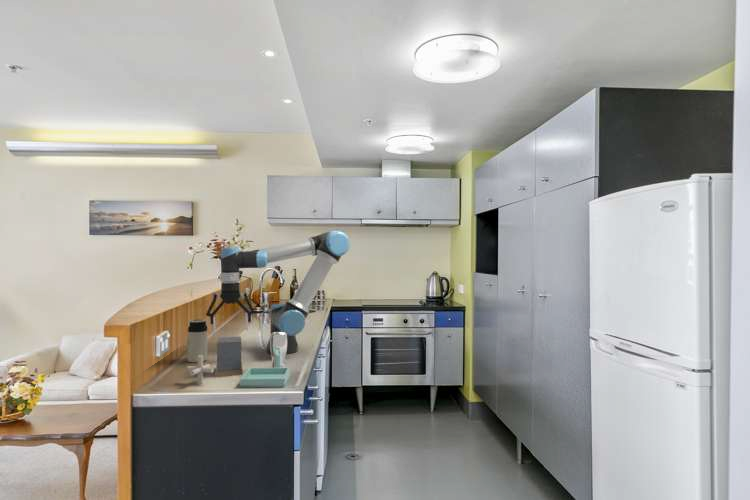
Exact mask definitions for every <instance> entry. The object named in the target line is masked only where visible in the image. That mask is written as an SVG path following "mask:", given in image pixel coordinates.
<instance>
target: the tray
mask: <svg viewBox="0 0 750 500" xmlns="http://www.w3.org/2000/svg"><path fill="white" fill-rule="evenodd" d="M290 376H291V367H286V368H271V367H249V368H248V369H247V370H246V372H245V373H244V374H243V375H241V377H240V379H239V389H240V388H241V389H249V388H250V389H251V388H253V387H255V388H256V387H263V388H285V387H286V385H287V382H288V380H289V378H290Z"/></svg>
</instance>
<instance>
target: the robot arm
mask: <svg viewBox="0 0 750 500" xmlns="http://www.w3.org/2000/svg"><path fill="white" fill-rule="evenodd" d="M349 249H350V239H349V237H348V236H347V234H346V233H344V232H342V231H339V230H333V231H327V232H326V231H325V232H323V233H320V234H317V235H315V236H310V237H308V239H305V240H300V241H299V240H298V241H296V242H295V241H294V242H290V243H284V244H280V245H273V246H269V247H263V248H259V249H254V250H247V251H242V250H241V251H240V248H239V247H238V246H231V247H230V246H225V247H224V246H223V247H222V248H221V250H220V271H221V272H220V274H221V276H220V279H221V280H220V281H221V287H220V288H221V293H220V294H219V293H214V294H213V298H212V302H211V303H210V305H209V307H208V310H207V311H206V313H205V316H207V317H210V324H211V325H213V327H212V328H213V333H216V314H217V313H218V311H219V310H220V309H221V308H222V307H223V305H225V304H226V305H229V304H230V305H231V304H238V305H239V307H240V308H241V309H242V310H243V311H244V312H245V313H246V314H245V321H246V322H245V328H246V329H245V330H246V331H249V323H251V321H252V318H251V317H252V315H253V314H255V313H256V310H255V309H254V307H253V304H251V302H250V299H249V297H248V294H247V292H242V293H241V291H240V269H262V268H266V267H267V265H268V264H271V263H276V262H281V261H286V260H292V259H295V258H301V257H306V256H312V257H315V256H316V257H315V259H314V261H313V262H312V263H311V266H310V267H309V269H308V270H307V273H306V274H305V276H304V278H303V279H302V282H301V283H300V285H299V287H298V288H297V290H296V291H295V293H294V295H293V297H292V298H290V299H288V300H286V302H285V303H280V304H278V303H277V304H271V306H270V310H269V311H270V333H269V334H270V336H271V333H273V332H286V333H287V351H286V355H288V354H294V353H297V352H299V345H298V342H297V338H296V336H297V335H298V334H300V333H301V332H302V331H303V330H304V328H305V327H306V319H307V317H308V316H309V314H310V313H309V312H310V311H309V307H310V305H311V304H312V302H313V301H314V298H315V297H316V295H317V294H318V291H319V289H320V288H321V286H322V284H323V283H324V281H325V280H326V278H327V276H328V274H329V272H330V270H331V269H332V267H333V265H334V264H335V265H336V264H338V263H339V261H340V259H341V257H342V256H343V255H345V254H346V253H347V252H349ZM241 297H242V298H243V299H244V300H245V302H246V304H247V306H248V308H247V307H246V306H245V305H244V303H243V302H241V300H239V299H240V298H241ZM220 298H221V301H220V303H219V304H218V305H217V306H216V308H215V309H214V310H213V311H212V309H213V307H214V305H215V303H216V302H217V300H219V299H220ZM211 311H212V312H211ZM270 336H269V337H270ZM266 353H267V354H271V351H270V338H269V339H268V342H267V344H266Z"/></svg>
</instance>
